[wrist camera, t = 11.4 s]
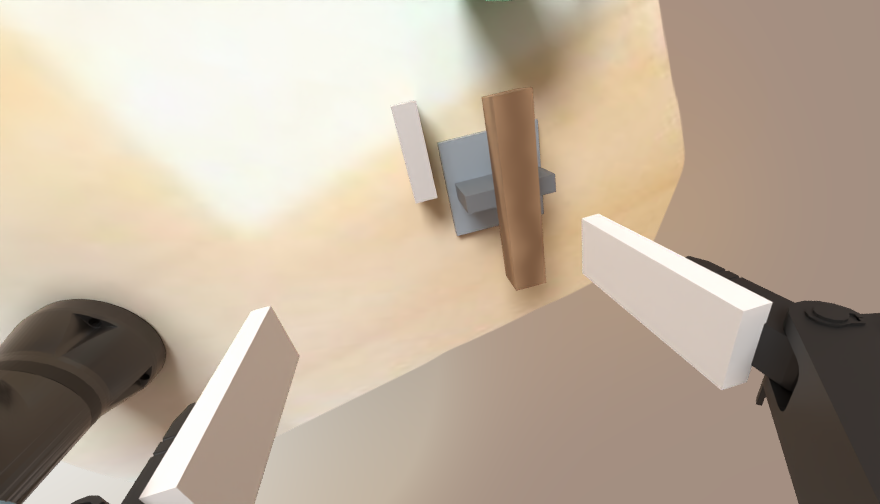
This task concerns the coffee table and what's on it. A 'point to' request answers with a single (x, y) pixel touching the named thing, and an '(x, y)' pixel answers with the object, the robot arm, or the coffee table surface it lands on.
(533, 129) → the plank
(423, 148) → the post
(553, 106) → the coffee table surface
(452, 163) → the fulcrum
